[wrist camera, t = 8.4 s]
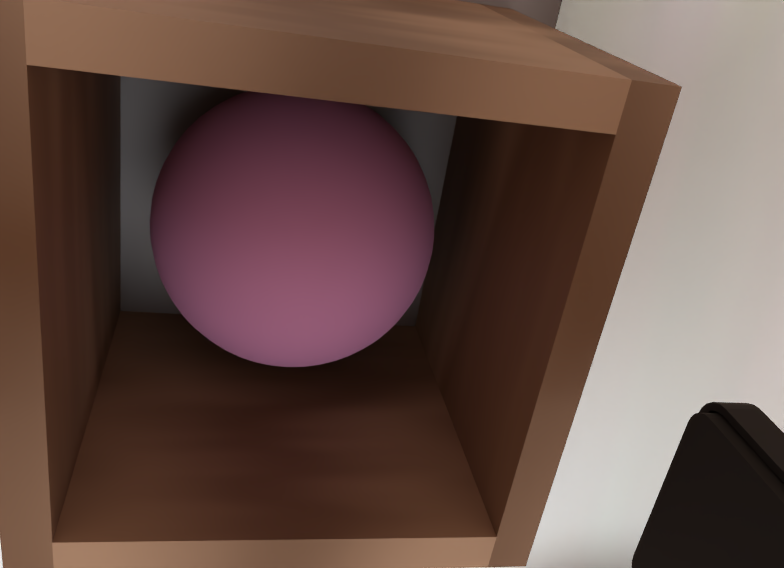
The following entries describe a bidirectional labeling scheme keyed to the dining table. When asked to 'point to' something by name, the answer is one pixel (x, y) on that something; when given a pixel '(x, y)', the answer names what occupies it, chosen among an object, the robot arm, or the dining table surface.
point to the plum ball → (291, 227)
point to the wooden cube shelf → (325, 381)
